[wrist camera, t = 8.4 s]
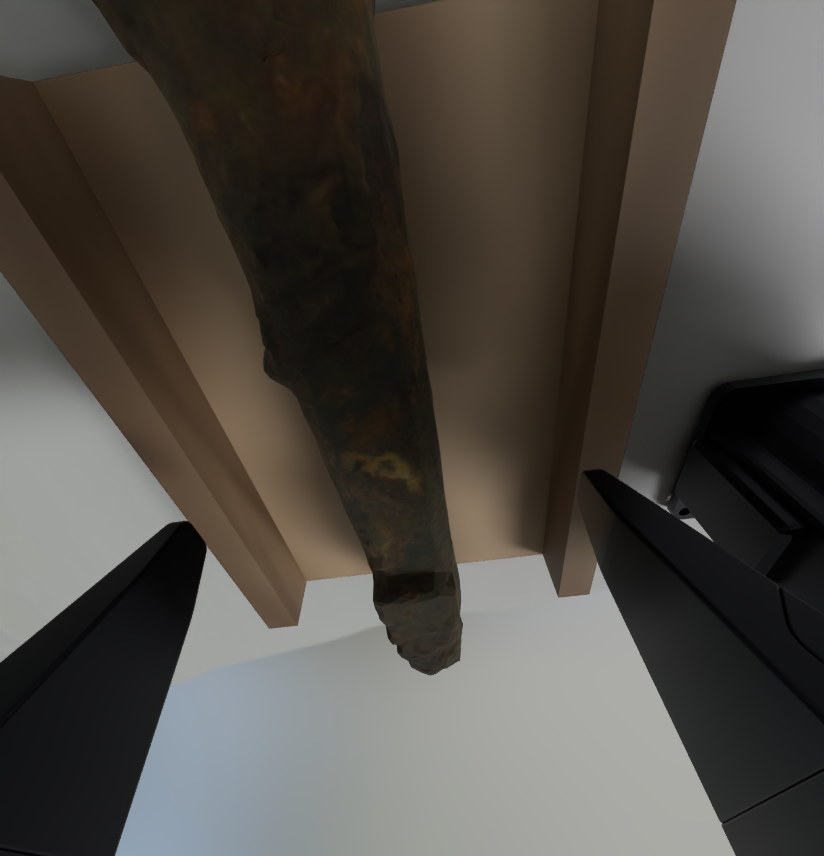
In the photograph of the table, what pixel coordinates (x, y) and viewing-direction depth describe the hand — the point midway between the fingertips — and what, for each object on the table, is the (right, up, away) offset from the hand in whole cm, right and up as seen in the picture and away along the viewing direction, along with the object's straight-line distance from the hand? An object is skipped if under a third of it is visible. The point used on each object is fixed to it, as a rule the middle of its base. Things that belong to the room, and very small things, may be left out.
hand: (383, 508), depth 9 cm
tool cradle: (0, +3, +4) cm, 5 cm away
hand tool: (0, +3, +3) cm, 4 cm away
